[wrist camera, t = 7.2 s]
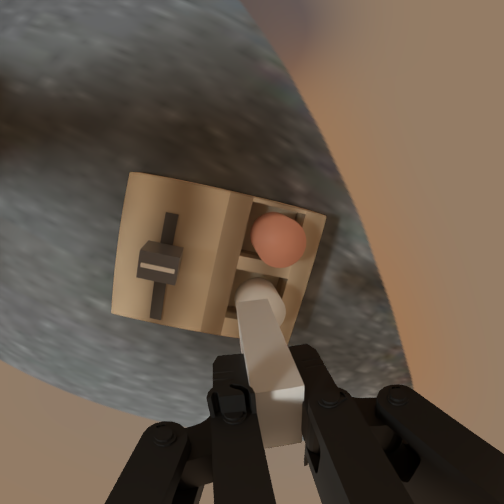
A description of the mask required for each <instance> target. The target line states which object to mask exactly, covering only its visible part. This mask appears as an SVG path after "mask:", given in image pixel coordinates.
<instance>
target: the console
mask: <svg viewBox="0 0 504 504" xmlns="http://www.w3.org/2000/svg"><path fill="white" fill-rule="evenodd" d="M268 212H278V213H281V214H283V215H285V216H287V217H289V218H291V219H293V220H294V221H296V222H297V223H298V224H300V226H301V227H302V228H303V230H304V232H305V235H306V248H305V251H304V253H303V255H302V257H301V258H300V259H299V260H298V261H297V262H296V263H294V264H293V265H291V266H289V267H285V268H275V267H271V266H269V265H267V264H266V263H265V262H263V261H262V259H261V258H260V257H259V255H258V253H257V252H256V250H255V248H254V247H253V245H252V243H251V239H250V230H251V227H252V225H253V223H254V221H255V220H256V219H257V218H258V217H259V216H261V215H263V214H265V213H268ZM326 217H327V216H325V215H322V214H320V213H317V212H314V211H311V210H308V209H304V208H300V207H296V206H292V205H288V204H284V203H280V202H276V201H272V200H268V199H264V198H260V197H256V196H252V195H247V194H243V193H239V192H235V191H230V190H226V189H221V188H217V187H212V186H207V185H203V184H198V183H193V182H188V181H184V180H179V179H174V178H169V177H163V176H158V175H153V174H148V173H142V172H130V174H129V179H128V184H127V189H126V194H125V200H124V206H123V212H122V218H121V224H120V231H119V238H118V246H117V254H116V263H115V272H114V283H113V295H112V311H111V313H113V314H117V315H121V316H125V317H130V318H134V319H138V320H143V321H147V322H152V323H157V324H161V325H166V326H171V327H176V328H182V329H187V330H192V331H198V332H203V333H209V334H215V335H221V336H228V337H234V338H240V337H239V327H238V318H237V310H236V305H235V300H234V296H235V292H236V290H237V288H238V286H239V285H240V284H241V283H242V282H244V281H245V280H247V279H250V278H255V277H259V278H264V279H266V280H268V281H270V282H271V283H272V284H273V285H274V287H275V289H276V290H277V292H278V294H279V296H280V297H281V299H282V301H283V303H284V305H285V308H286V315H285V319H284V321H283V323H282V324H281V326H280V329H281V332H282V334H283V336H284V339H285V341H286V343H287V345H288V342H289V339H290V336H291V333H292V330H293V327H294V324H295V321H296V318H297V315H298V312H299V309H300V306H301V302H302V299H303V296H304V293H305V290H306V286H307V283H308V280H309V277H310V273H311V270H312V266H313V263H314V260H315V256H316V253H317V249H318V246H319V242H320V239H321V235H322V232H323V228H324V224H325V221H326ZM148 240H150V241H155V242H159V243H164V244H169V245H174V246H179V247H184V249H183V254H182V260H181V265H180V271H179V274H178V278H177V281H176V284H175V286H174V285H170V284H165V283H160V282H155V281H151V280H146V279H141V278H137V277H136V275H137V267H138V260H139V253H140V249H141V248H142V247H143V246H144V245H145V244H146V243H147V241H148Z"/></svg>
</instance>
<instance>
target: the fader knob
mask: <svg viewBox="0 0 504 504" xmlns="http://www.w3.org/2000/svg"><path fill="white" fill-rule="evenodd" d="M183 249H184V247H179V246H174V245H169V244H164V243H159V242H155V241H150V240H148V241H147V243H146V244H145V245H144V246H143V247H142V248H141V249H140V253H139V260H138V267H137V275H136V277H137V278H141V279H146V280H151V281H155V282H160V283H165V284H170V285H174V286H175V284H176V281H177V278H178V274H179V271H180V265H181V260H182V254H183Z"/></svg>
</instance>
